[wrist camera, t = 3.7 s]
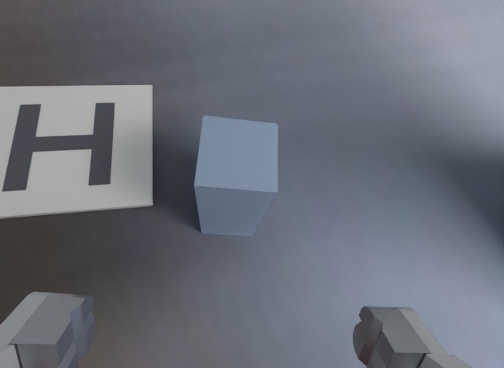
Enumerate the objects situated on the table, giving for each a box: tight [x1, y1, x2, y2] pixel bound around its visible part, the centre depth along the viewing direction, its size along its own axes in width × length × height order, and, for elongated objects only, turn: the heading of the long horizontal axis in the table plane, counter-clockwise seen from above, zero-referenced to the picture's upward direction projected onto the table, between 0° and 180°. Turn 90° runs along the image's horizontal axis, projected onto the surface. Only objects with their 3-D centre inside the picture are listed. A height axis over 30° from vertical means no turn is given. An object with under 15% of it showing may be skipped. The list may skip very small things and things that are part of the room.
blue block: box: [194, 115, 278, 237], centre depth 19 cm, size 4×4×10 cm
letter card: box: [0, 85, 153, 219], centre depth 23 cm, size 14×12×1 cm
